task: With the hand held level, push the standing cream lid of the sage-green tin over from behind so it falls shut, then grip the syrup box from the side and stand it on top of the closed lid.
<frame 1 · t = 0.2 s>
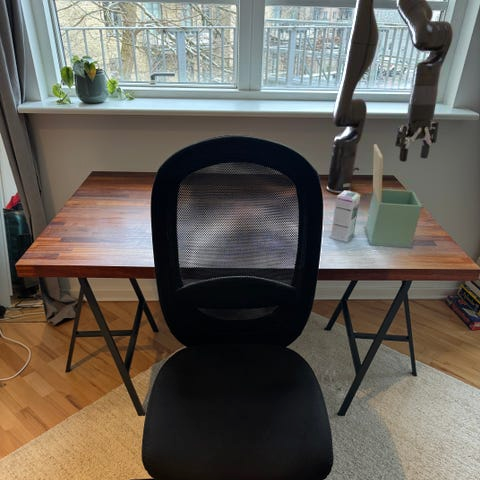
hand: (413, 159, 141), 23 cm above the table, tool pointing down, fingers open, 8 cm apart
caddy: (387, 237, 149), on the table
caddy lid: (377, 173, 137), point 21 cm above the table, hinge at 100.0°
syrup box: (341, 237, 148), on the table
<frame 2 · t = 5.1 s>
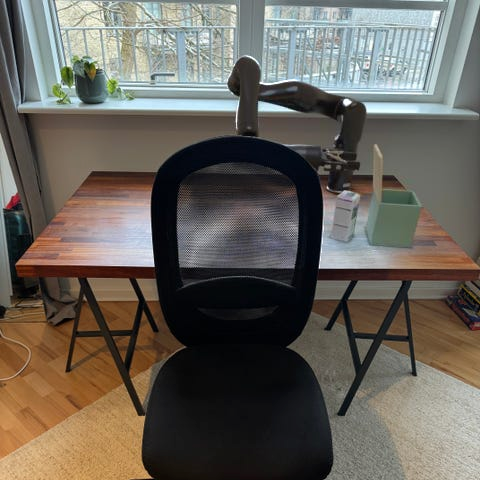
hand: (358, 161, 135), 24 cm above the table, tool horizontal, fingers open, 8 cm apart
nothing on the table moved.
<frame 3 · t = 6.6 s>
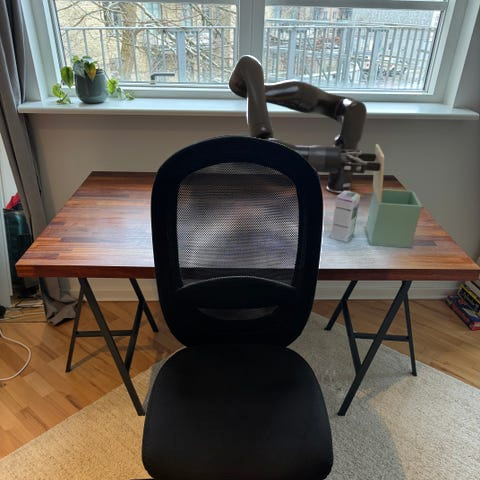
hand: (377, 162, 135), 24 cm above the table, tool horizontal, fingers open, 8 cm apart
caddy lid: (378, 172, 137), point 21 cm above the table, hinge at 97.7°, touching gripper
everything else where it was.
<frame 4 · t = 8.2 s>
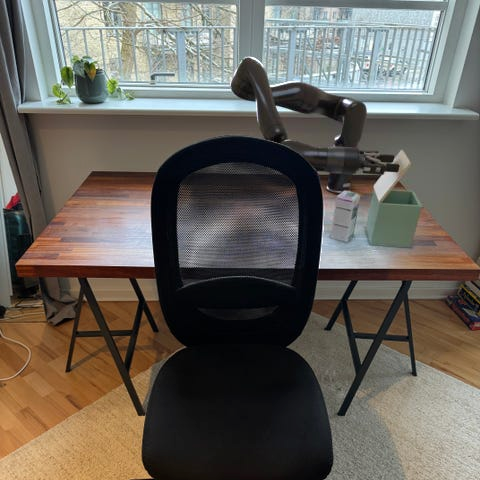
hand: (396, 163, 134), 24 cm above the table, tool horizontal, fingers open, 8 cm apart
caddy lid: (391, 175, 137), point 20 cm above the table, hinge at 62.8°
everything else where it was.
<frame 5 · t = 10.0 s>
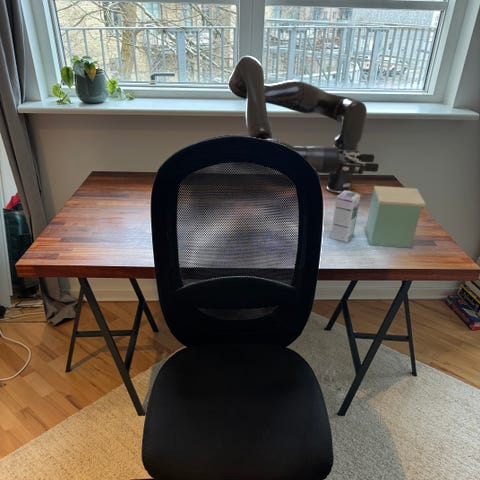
hand: (375, 162, 134), 24 cm above the table, tool horizontal, fingers open, 8 cm apart
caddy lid: (398, 195, 140), point 14 cm above the table, hinge at -0.2°
everything else where it was.
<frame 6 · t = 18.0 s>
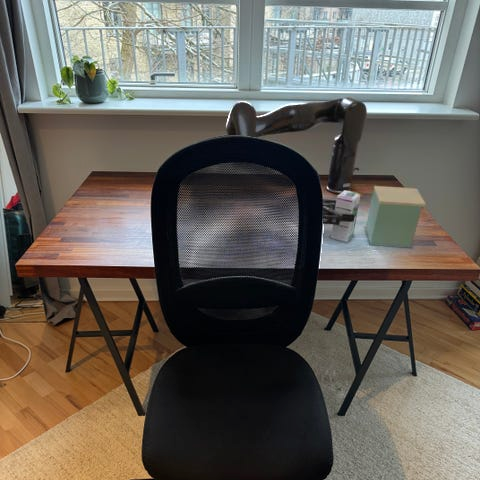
hand: (352, 213, 143), 9 cm above the table, tool horizontal, fingers closed on syrup box, 7 cm apart
syrup box: (341, 237, 148), on the table, touching gripper
everything else where it was.
when the fingers open (23 cm above the table, at t = 26.6 s): syrup box stays where it is, resting on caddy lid.
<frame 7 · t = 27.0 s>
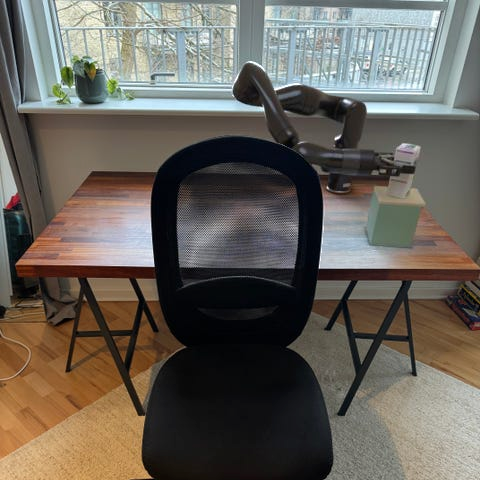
hand: (411, 165, 134), 24 cm above the table, tool horizontal, fingers open, 8 cm apart
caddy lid: (398, 195, 140), point 14 cm above the table, hinge at -0.2°, touching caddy, syrup box
syrup box: (397, 195, 140), point 14 cm above the table, touching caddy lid
everything else where it was.
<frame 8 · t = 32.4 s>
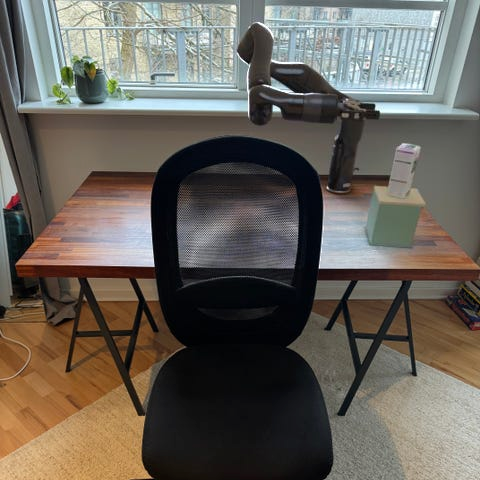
hand: (377, 111, 127), 38 cm above the table, tool horizontal, fingers open, 8 cm apart
nothing on the table moved.
at the end: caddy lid at +0° (first picture: +100°); syrup box inside the target area on the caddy (0.1 cm from its centre), point 14.4 cm above the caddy's base; syrup box tilted 0° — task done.
